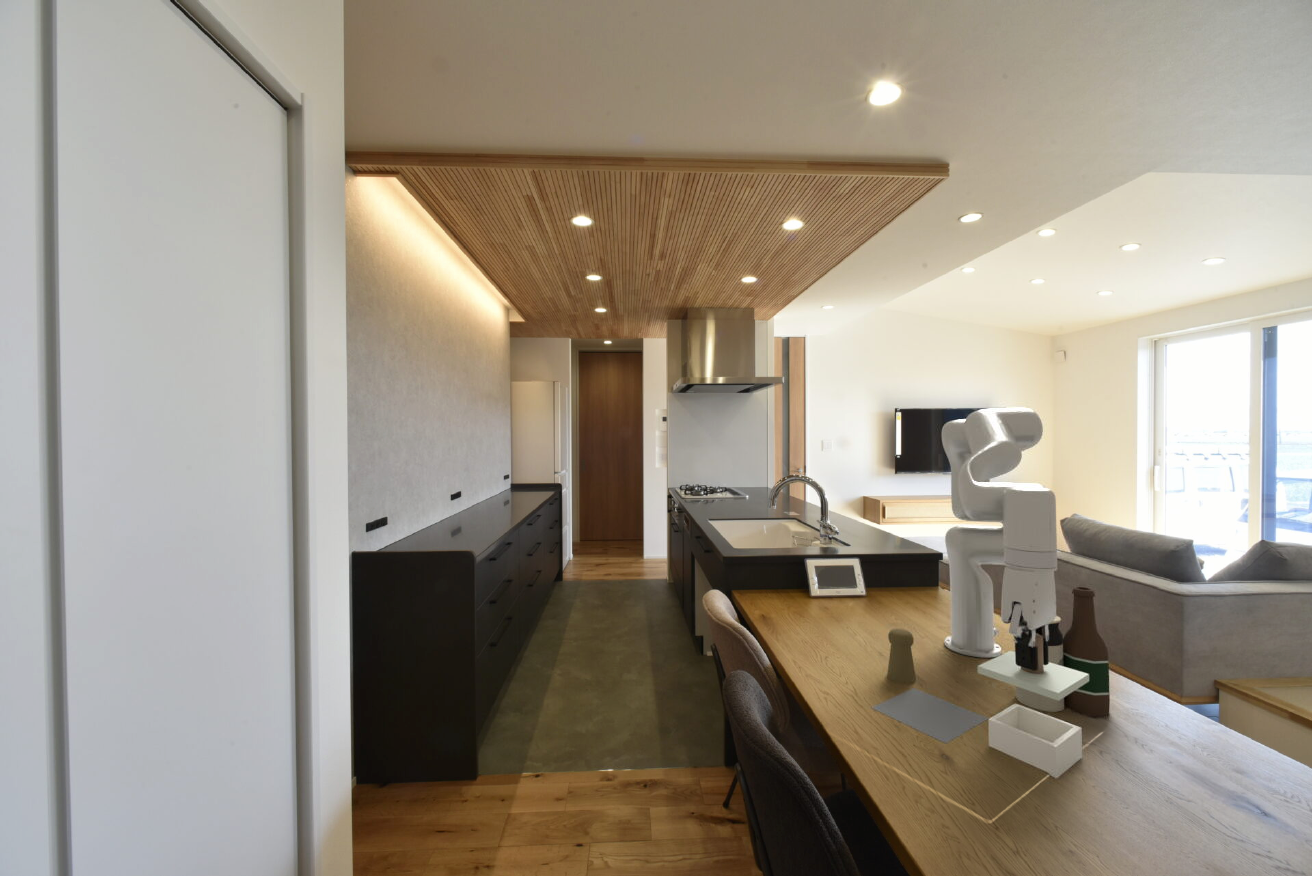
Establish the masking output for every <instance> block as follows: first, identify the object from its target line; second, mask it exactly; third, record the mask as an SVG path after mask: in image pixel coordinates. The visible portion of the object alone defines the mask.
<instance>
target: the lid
mask: <svg viewBox="0 0 1312 876" xmlns="http://www.w3.org/2000/svg"><path fill="white" fill-rule="evenodd" d="M1026 633H1027V635H1028V636H1029V632H1026ZM1035 646H1036V647H1038V670H1036V671H1033V670H1030V669H1027V668H1024V667H1021V666H1018V665H1016V662H1015V651H1013V650H1009V651H1007V652H1004V653H1003V654H1002V653H1001V655H999V656H997V657H993V658H991V659H990V660H987V661H985V662H983V663H981V664H979V665H977V673H978V674H980V675H982V676H983V675H984V676H986V677H989V678H992V679H994V680H997V681H1000V682H1003V683H1006V684H1008V685H1012V686H1015V687H1016V686H1017V687H1020V688H1023V689H1026V690H1029V691H1032V692H1035V693H1038V694H1040V695H1043V696H1046V697H1049V698H1052V699H1055V700H1058V701H1059V700H1061V699H1062V698H1064V697H1065V696H1067V695H1068V694H1070V693H1072V692H1073V691H1075V690H1076V689H1078V688H1079V687H1081V686H1083V685H1084V684H1086V683H1087V682H1089V674H1087V673H1084V672H1080V671H1077V670H1074V669H1070V668H1067V667H1064V666H1060V665H1057V664H1053V663H1050V662H1049V664H1047V665H1044V662H1043V636H1042V635H1040V634H1037V633H1035Z"/></svg>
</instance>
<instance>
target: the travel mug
mask: <svg viewBox="0 0 1312 876" xmlns="http://www.w3.org/2000/svg"><path fill="white" fill-rule="evenodd" d="M1060 622H1062V619H1061V617H1060V616H1058V615H1057V614H1056V617H1055V619H1054V620H1053V621H1052V622H1050V624H1049V628H1048V631H1049V640H1048V641H1046V642H1048V658H1049V662H1050V663H1053V664H1057V665H1060V666H1063V637H1064V635H1063V633H1062V631H1061V630H1060V628H1059V625H1060ZM1022 625H1025V626H1026V625H1027V623H1023V622H1022ZM1022 631H1023V632H1028V631H1026V630H1022ZM1015 698H1016V700H1017V701H1018V702H1020V703H1022V704H1023V705H1025V706H1027V707H1028V708H1031V709H1032V708H1033V709H1036V710H1039V711H1044V712H1052V713H1053V712H1055V713H1056V712H1061V711H1063V710H1065V706H1064V698H1062V699H1061V700H1059V701H1058V700H1055V699H1052V698H1049V697H1046V696H1043V695H1040V694H1038V693H1035V692H1032V691H1029V690H1026V689H1023V688H1020V687H1017V686H1015Z"/></svg>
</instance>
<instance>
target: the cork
mask: <svg viewBox="0 0 1312 876" xmlns="http://www.w3.org/2000/svg"><path fill="white" fill-rule="evenodd" d="M887 638H888V642H889V643H890V649H889V650H890V651H889V657H888V658H889V659H888V666H887V674H886V675H887V678H888V679H889V680H891V681H894V682H895V683H899V684H907V685H909V684H914V683H916V682H917V677H916V671H915V665H914V659H913V658H914V657H913V652H912V646H913V644H914V642H915V641H914V639H915V638H914V636H913V634H912V632H911V631H909V630H907V629H903V628H893V629H890V631H889V632H888V635H887Z"/></svg>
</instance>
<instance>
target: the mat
mask: <svg viewBox="0 0 1312 876" xmlns="http://www.w3.org/2000/svg"><path fill="white" fill-rule="evenodd" d="M870 708H871V709H872V710H875V711H876V712H878V713H880V714H883V715H885V716H887V717H889V718H891V719H893V720H896V721H898V722H899V723H901V724H904V725H906V726H907V727H910V728H912V729H915V730H917V731H918V732H920V733H923V734H925V735H927V736H929V737H931V738H933V739H935V740H937V741H940V742H942V743H943V744H947V743H949V742H952V741H953V740H954V739H955V740H956V738H958V737H959V736H961V735H963V734H965V733H966V732H968V731H970V730H971V729H973V728H975V727H977V726H979V725H980V724H982V723H984V722H985V721H987V720H988V719H990V718H988V717H986V716H984V715H981V714H979V713H976V712H974V711H972V710H969V709H967V708H964V707H962V706H959V705H956V704H954V703H951V702H949V701H948V700H945V699H943V698H940V697H937V696H935V695H933V694H929V693H927V692H925V691H922V690H920V689H917V688H915V687H913V688H911V689H909V690H907V691H904V692H901V693H899V694H898V695H895V696H894V697H891V698H889V699H887V700H884V701H883V702H880V703H878V704H876V705H873V706H871V707H870Z"/></svg>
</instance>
